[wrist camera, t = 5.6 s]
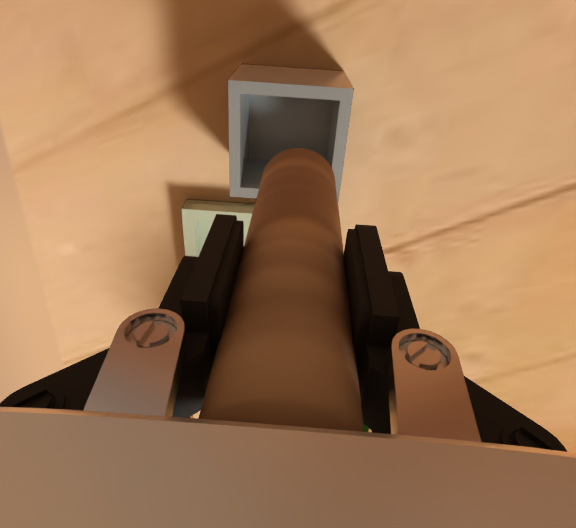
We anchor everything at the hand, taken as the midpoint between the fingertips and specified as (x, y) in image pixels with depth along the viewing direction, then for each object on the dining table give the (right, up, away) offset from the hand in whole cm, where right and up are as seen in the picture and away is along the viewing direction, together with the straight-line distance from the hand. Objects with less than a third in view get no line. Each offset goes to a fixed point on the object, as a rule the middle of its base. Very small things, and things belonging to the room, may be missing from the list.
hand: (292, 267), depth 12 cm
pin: (0, +3, +5) cm, 6 cm away
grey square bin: (0, +9, +15) cm, 18 cm away
